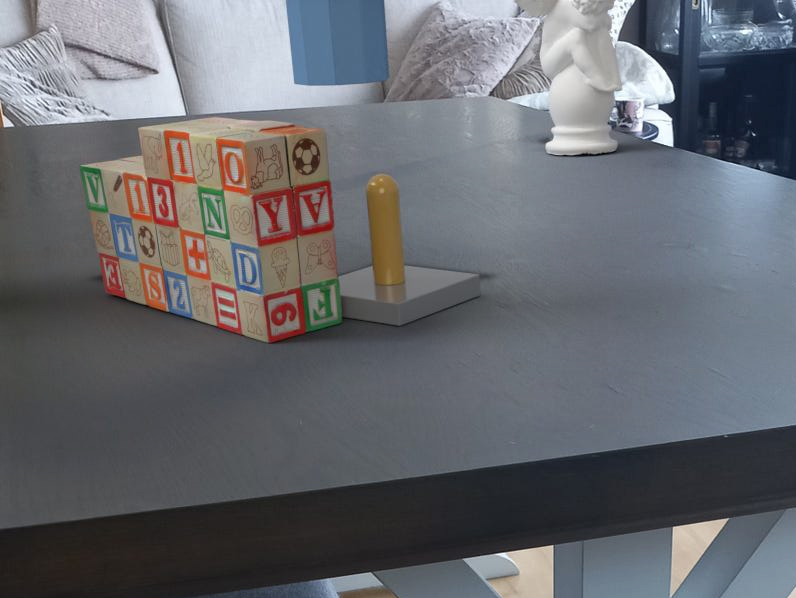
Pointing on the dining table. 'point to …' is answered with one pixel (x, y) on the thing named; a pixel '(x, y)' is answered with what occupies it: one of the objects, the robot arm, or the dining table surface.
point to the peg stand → (397, 270)
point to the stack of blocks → (221, 225)
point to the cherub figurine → (578, 72)
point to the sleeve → (337, 41)
